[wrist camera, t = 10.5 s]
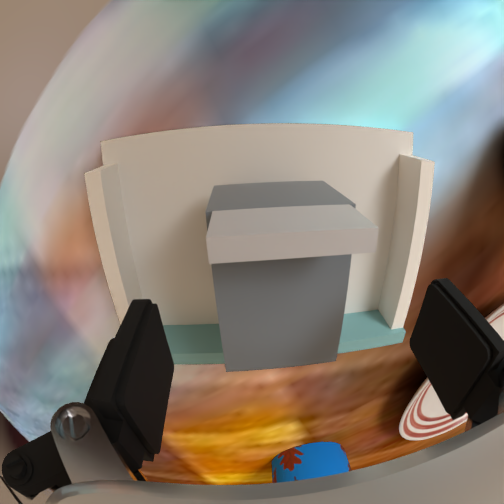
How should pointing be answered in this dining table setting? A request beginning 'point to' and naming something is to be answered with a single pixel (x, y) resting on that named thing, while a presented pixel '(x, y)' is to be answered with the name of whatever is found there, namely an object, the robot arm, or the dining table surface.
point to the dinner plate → (437, 402)
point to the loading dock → (254, 171)
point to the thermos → (310, 462)
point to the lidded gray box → (282, 270)
